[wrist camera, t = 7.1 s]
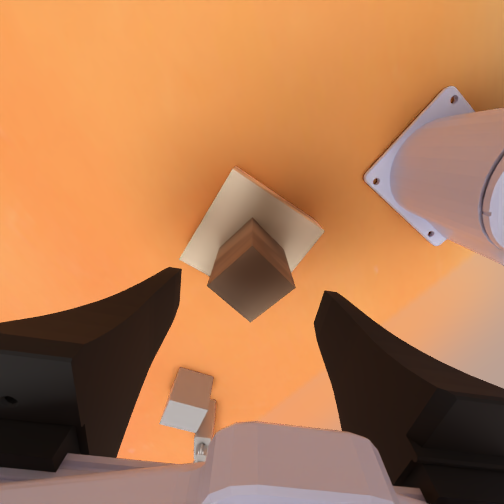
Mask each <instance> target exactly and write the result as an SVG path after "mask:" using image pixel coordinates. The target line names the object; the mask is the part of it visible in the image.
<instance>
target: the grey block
mask: <svg viewBox="0 0 504 504" xmlns="http://www.w3.org/2000/svg"><path fill="white" fill-rule="evenodd" d="M212 383H213V377H212V376H209V375H206V374H202V373H199V372H195V371H192V370H188V369H185V368H182V367H180V368H179V371H178V373H177V376H176V378H175V381H174V383H173V386H172V388H171V391H170V394H169V397H168V400H167V403H166V406H165V409H164V412H163V415H162V418H161V421H160V424H162V425H166V426H170V427H174V428H178V429H182V430H186V431H190V432H194V433H196V432H197V430H198V429H199V427H200V425H201V423H202V421H203V419H204V417H205V415H206V413H207V411H208V407H209V401H210V395H211V389H212Z"/></svg>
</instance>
